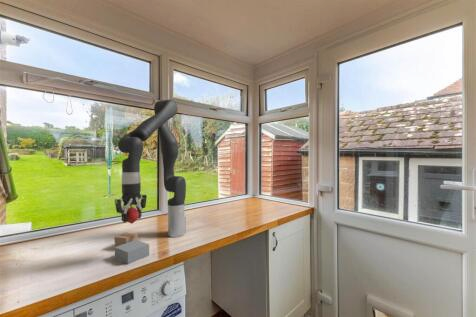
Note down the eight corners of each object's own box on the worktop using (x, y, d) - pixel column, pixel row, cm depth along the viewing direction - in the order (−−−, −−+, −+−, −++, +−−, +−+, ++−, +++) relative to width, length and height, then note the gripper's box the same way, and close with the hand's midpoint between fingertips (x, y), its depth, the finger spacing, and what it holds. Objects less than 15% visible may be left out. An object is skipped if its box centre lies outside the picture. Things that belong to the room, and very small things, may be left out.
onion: (141, 221, 102) (141, 204, 102) (135, 225, 96) (135, 206, 96) (128, 221, 102) (128, 204, 101) (122, 225, 96) (121, 207, 96)
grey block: (135, 250, 106) (135, 239, 106) (149, 255, 100) (149, 244, 100) (114, 258, 97) (114, 247, 97) (128, 264, 92) (127, 252, 92)
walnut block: (126, 243, 114) (126, 232, 114) (137, 245, 112) (137, 233, 112) (114, 249, 108) (114, 236, 108) (126, 250, 106) (126, 238, 106)
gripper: (140, 180, 107) (141, 215, 107) (110, 183, 95) (110, 223, 95) (150, 181, 103) (151, 217, 103) (119, 184, 91) (120, 225, 91)
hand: (131, 219), depth 99 cm, fingers closed on onion, 6 cm apart
